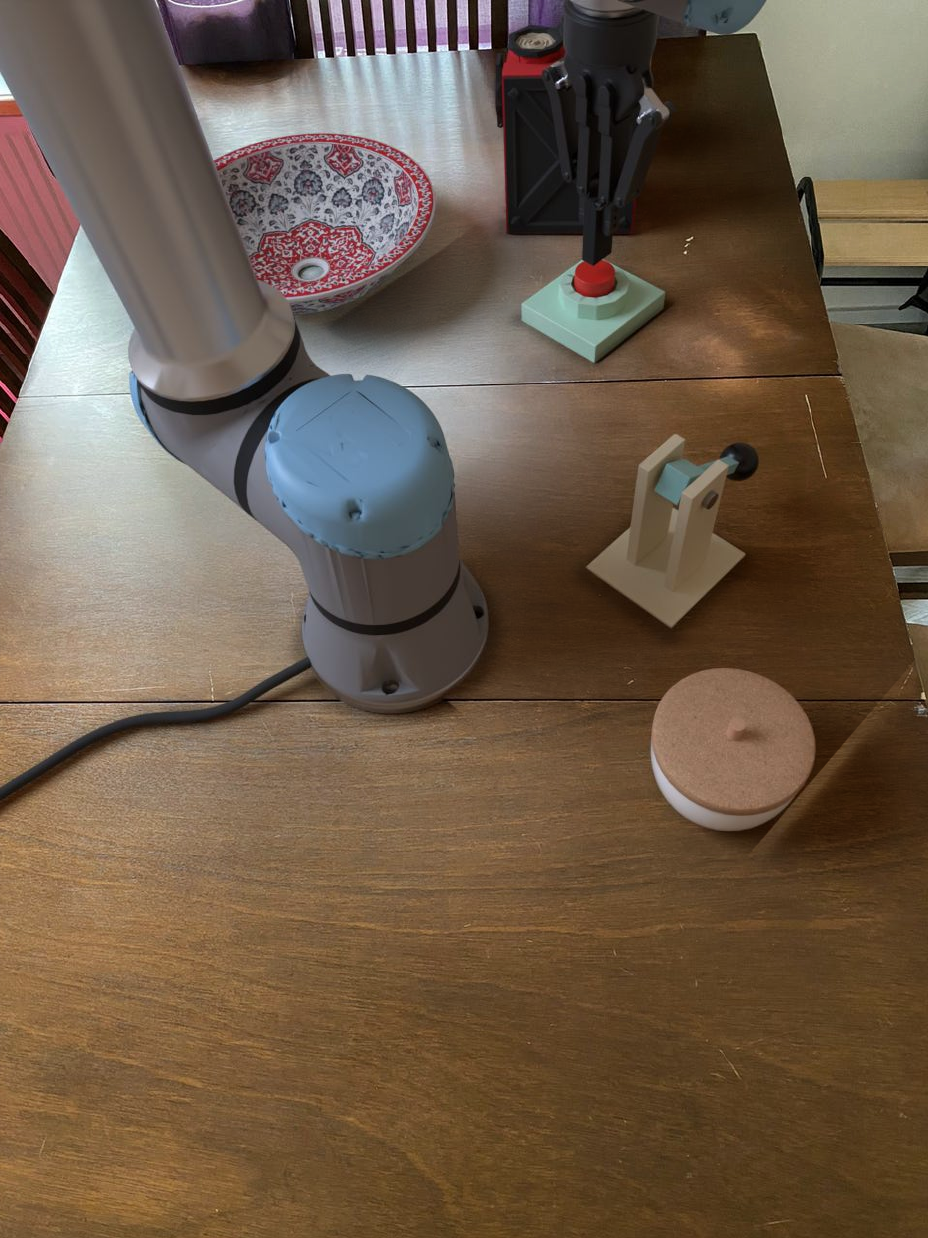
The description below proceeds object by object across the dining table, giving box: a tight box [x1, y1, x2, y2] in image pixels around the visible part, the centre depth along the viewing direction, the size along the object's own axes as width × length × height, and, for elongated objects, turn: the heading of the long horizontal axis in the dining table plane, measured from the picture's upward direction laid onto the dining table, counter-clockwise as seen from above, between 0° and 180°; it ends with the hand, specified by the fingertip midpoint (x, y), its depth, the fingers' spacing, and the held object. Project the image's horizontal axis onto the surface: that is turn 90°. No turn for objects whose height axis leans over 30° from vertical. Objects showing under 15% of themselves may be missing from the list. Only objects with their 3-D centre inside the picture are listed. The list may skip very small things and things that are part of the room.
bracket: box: [585, 433, 746, 629], centre depth 77 cm, size 10×9×13 cm
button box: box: [520, 258, 666, 364], centre depth 99 cm, size 11×10×4 cm
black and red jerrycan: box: [493, 24, 653, 235], centre depth 103 cm, size 16×10×20 cm, turn 84°
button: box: [574, 259, 615, 298], centre depth 97 cm, size 4×4×2 cm
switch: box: [654, 441, 760, 506], centre depth 77 cm, size 13×3×3 cm, turn 135°
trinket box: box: [650, 667, 817, 832], centre depth 67 cm, size 11×11×9 cm
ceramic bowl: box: [213, 132, 437, 315], centre depth 104 cm, size 29×29×8 cm
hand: (596, 256), depth 95 cm, fingers closed
